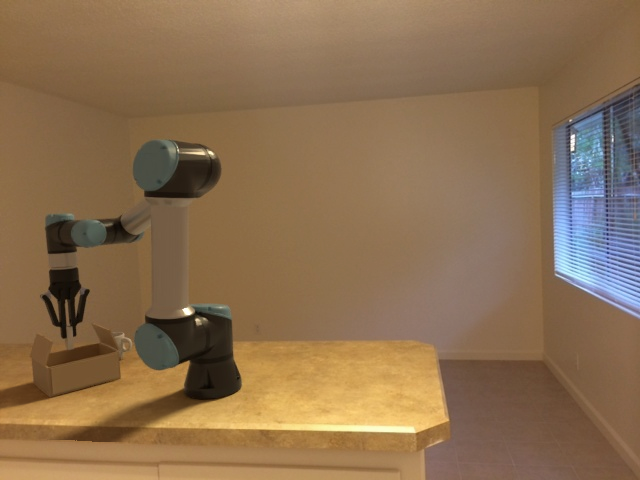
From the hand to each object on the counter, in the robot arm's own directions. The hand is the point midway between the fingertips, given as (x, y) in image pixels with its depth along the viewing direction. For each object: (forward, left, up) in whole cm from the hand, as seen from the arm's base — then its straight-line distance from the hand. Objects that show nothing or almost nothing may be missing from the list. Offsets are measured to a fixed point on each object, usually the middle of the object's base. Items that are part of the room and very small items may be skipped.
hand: (69, 348), depth 143 cm
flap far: (0, -11, -2) cm, 12 cm away
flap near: (0, +9, -2) cm, 9 cm away
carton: (0, -1, -10) cm, 10 cm away
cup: (+14, -18, -10) cm, 25 cm away
